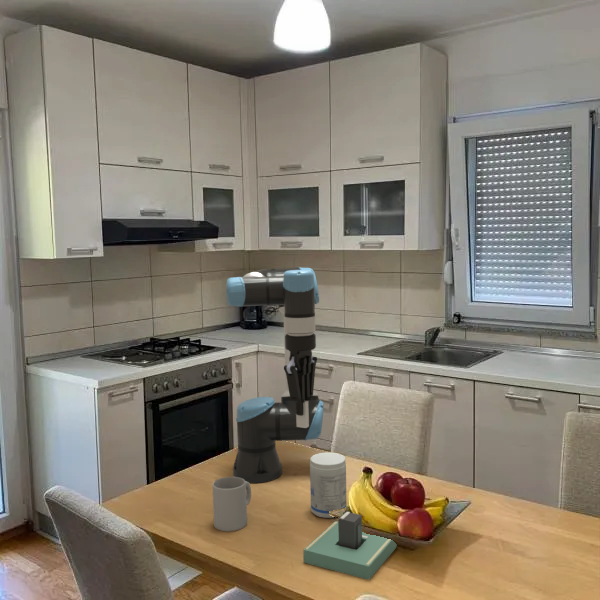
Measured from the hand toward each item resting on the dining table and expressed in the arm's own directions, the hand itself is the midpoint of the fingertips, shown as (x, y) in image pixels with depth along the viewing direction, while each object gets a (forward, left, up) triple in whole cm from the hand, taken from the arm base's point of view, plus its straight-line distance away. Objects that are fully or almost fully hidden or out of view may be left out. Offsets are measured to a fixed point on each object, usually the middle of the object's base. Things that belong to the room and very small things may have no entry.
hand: (302, 426), depth 158 cm
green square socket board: (+8, +17, -26) cm, 32 cm away
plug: (+8, +16, -26) cm, 32 cm away
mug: (+6, -17, -26) cm, 32 cm away
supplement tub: (-10, +2, -26) cm, 28 cm away
